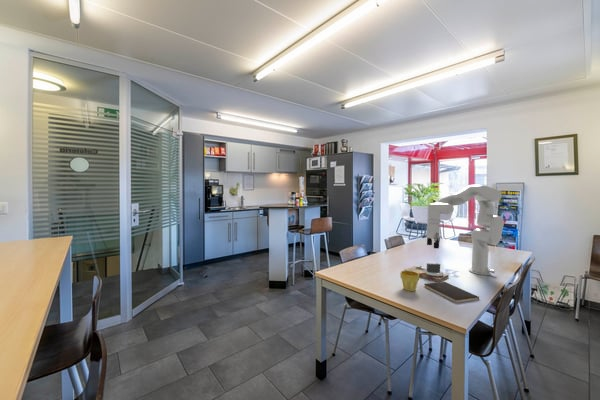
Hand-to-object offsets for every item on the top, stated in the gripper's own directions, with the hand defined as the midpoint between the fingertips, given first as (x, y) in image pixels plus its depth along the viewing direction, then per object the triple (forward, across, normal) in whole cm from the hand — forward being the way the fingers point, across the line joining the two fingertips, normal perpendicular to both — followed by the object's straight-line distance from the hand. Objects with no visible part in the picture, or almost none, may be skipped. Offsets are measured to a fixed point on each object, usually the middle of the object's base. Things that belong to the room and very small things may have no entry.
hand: (432, 246), depth 172 cm
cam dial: (+19, +1, -1) cm, 19 cm away
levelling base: (+21, -3, -3) cm, 21 cm away
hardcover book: (+22, +27, -2) cm, 35 cm away
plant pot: (+21, +23, -24) cm, 39 cm away
